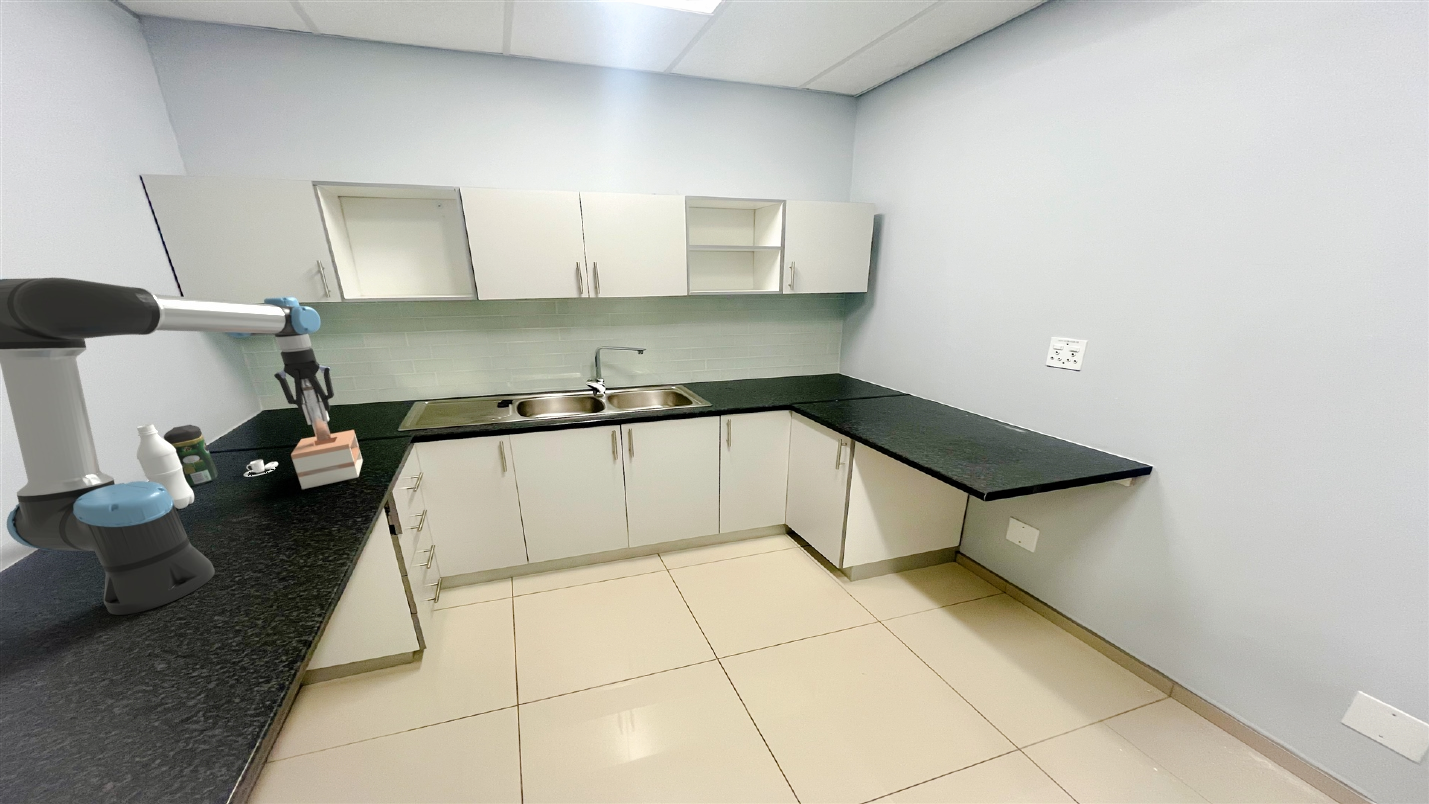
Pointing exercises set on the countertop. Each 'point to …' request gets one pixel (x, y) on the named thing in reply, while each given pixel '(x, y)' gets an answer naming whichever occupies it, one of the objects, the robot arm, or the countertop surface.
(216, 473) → the coffee jar
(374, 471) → the countertop surface
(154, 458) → the water bottle
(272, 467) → the teacup and saucer
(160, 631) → the countertop surface
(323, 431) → the metal tube
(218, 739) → the countertop surface
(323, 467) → the tissue box
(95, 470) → the robot arm
